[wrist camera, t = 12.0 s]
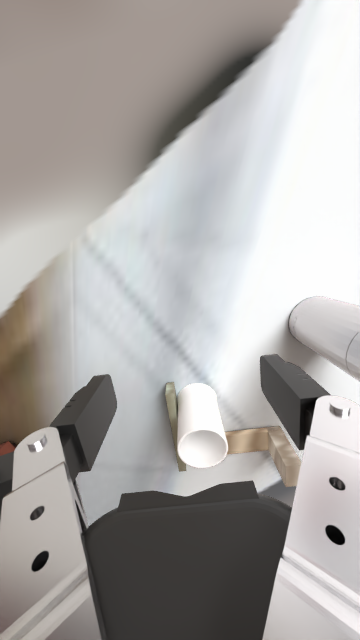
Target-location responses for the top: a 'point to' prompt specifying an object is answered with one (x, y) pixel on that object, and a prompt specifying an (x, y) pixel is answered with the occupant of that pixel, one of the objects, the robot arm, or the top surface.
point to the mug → (200, 427)
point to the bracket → (247, 442)
